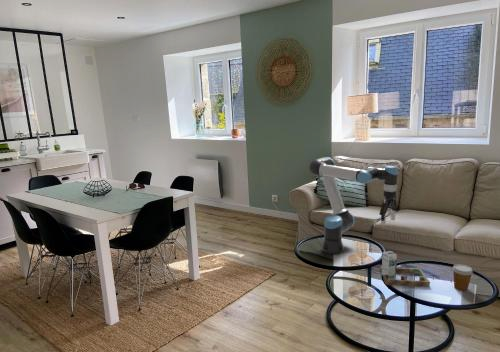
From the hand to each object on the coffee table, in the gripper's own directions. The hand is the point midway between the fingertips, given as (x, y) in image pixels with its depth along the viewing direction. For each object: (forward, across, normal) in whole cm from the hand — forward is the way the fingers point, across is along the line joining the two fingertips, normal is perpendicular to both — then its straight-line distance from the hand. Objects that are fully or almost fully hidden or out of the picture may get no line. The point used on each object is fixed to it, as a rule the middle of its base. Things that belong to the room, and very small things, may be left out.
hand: (387, 222), depth 236 cm
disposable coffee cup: (+23, -12, -48) cm, 55 cm away
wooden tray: (+23, -23, -21) cm, 39 cm away
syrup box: (+23, -25, -14) cm, 37 cm away
